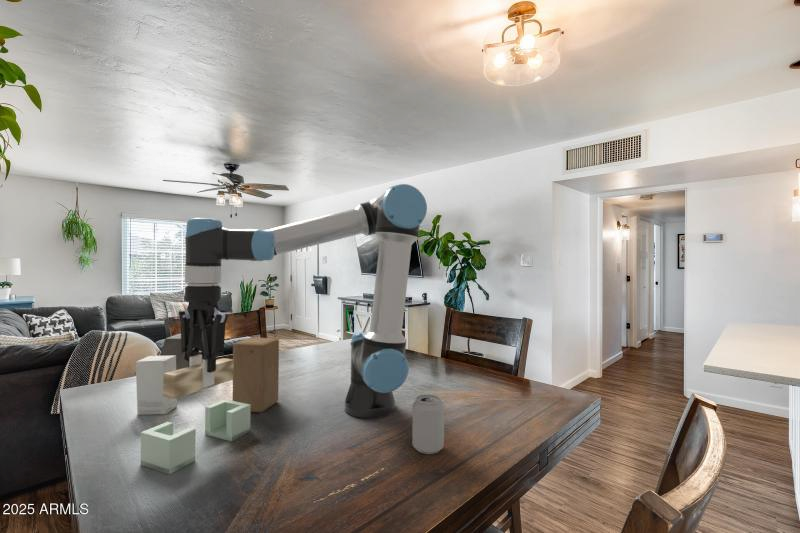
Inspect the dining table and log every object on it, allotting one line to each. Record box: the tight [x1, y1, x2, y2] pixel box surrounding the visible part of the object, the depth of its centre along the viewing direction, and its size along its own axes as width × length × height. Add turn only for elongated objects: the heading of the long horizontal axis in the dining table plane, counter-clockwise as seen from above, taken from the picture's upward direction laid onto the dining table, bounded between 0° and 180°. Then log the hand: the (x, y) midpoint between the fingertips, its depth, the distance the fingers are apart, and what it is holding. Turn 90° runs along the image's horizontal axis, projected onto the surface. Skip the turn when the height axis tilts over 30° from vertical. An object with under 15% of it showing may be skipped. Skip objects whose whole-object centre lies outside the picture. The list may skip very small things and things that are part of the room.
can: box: [411, 393, 445, 455], centre depth 91 cm, size 8×8×12 cm
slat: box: [163, 357, 234, 399], centre depth 90 cm, size 16×4×5 cm, turn 157°
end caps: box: [140, 399, 252, 475], centre depth 90 cm, size 22×9×7 cm, turn 157°
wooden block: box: [232, 337, 280, 413], centre depth 116 cm, size 10×10×20 cm
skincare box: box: [135, 355, 178, 416], centre depth 111 cm, size 8×7×16 cm
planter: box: [159, 332, 205, 370], centre depth 134 cm, size 17×8×21 cm
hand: (201, 384), depth 90 cm, fingers closed on slat, 3 cm apart
